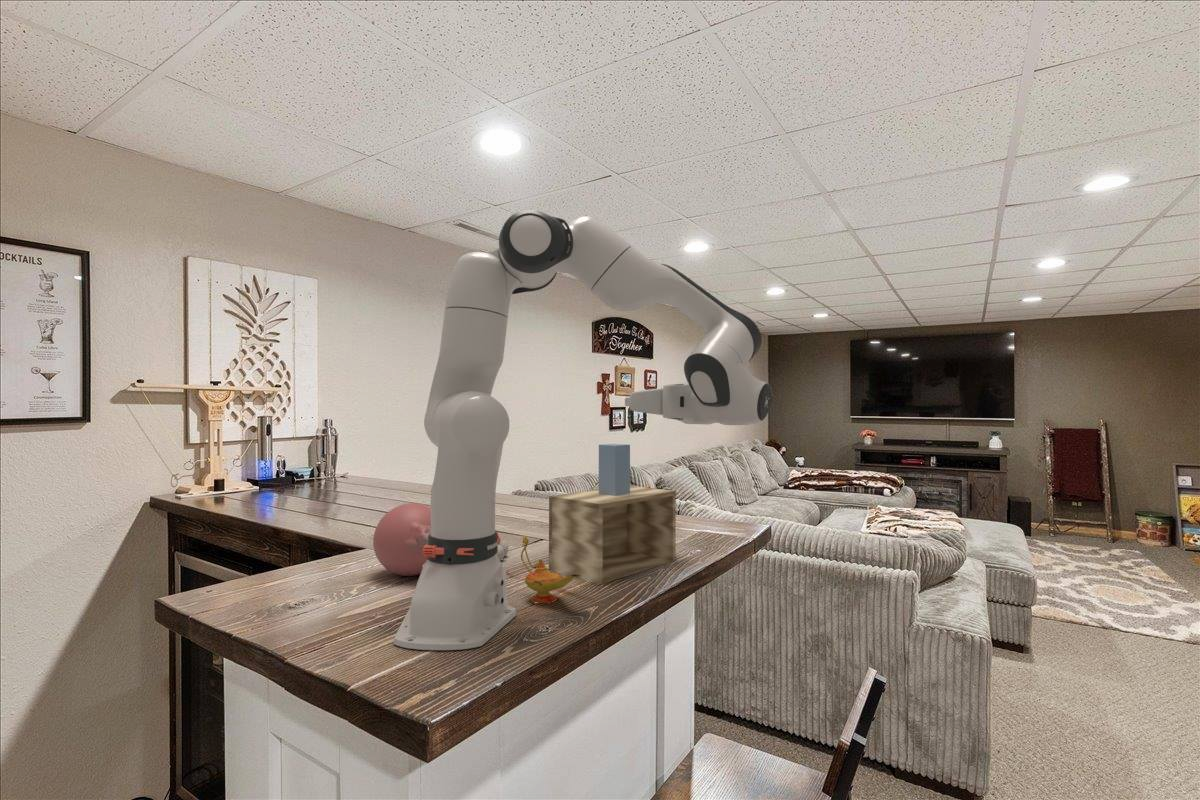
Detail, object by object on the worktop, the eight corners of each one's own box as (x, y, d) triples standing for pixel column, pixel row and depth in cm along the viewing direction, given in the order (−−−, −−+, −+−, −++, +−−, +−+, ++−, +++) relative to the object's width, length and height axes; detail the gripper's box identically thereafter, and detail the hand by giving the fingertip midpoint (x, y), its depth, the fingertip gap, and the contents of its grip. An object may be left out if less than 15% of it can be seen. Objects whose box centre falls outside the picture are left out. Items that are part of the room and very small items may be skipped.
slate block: (629, 493, 132) (630, 444, 132) (615, 495, 129) (615, 445, 129) (613, 491, 136) (613, 443, 136) (598, 493, 132) (598, 444, 132)
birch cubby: (675, 564, 136) (675, 491, 137) (599, 589, 117) (599, 504, 118) (626, 553, 147) (626, 485, 147) (548, 574, 128) (549, 496, 128)
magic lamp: (564, 619, 101) (564, 554, 101) (506, 594, 114) (506, 537, 114) (594, 609, 106) (594, 548, 106) (535, 587, 119) (535, 532, 119)
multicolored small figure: (510, 554, 145) (510, 525, 145) (500, 565, 136) (500, 533, 136) (476, 554, 146) (477, 524, 146) (464, 564, 136) (464, 532, 137)
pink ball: (386, 595, 113) (387, 515, 113) (366, 571, 130) (366, 501, 130) (464, 583, 121) (464, 508, 121) (435, 561, 138) (436, 496, 138)
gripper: (721, 388, 126) (669, 389, 136) (664, 384, 111) (610, 386, 121) (721, 417, 126) (669, 416, 135) (664, 417, 111) (609, 416, 121)
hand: (641, 402), depth 128 cm, fingers open, 8 cm apart
